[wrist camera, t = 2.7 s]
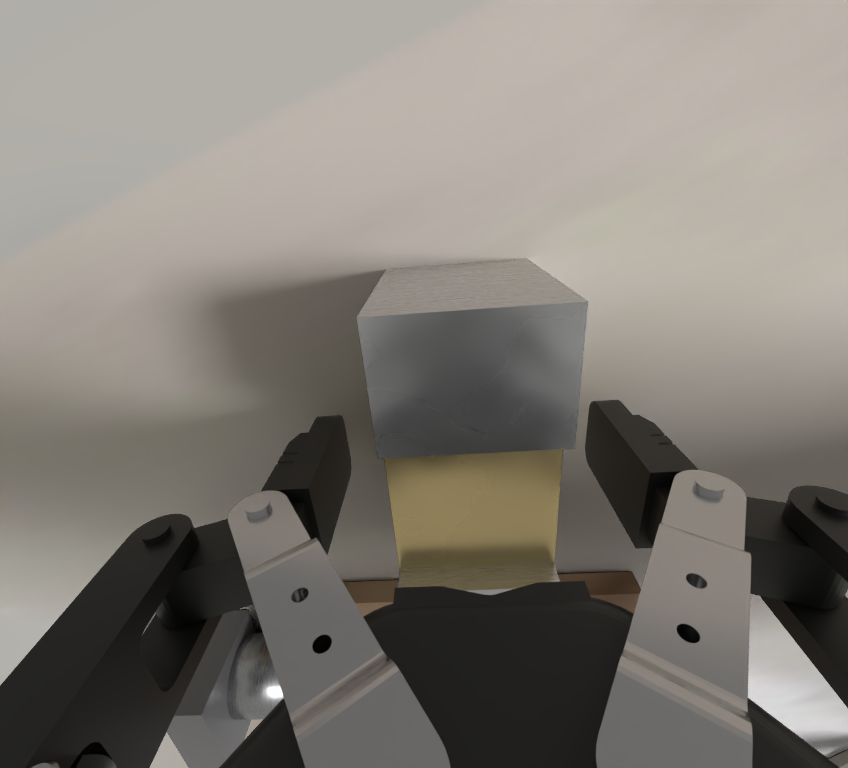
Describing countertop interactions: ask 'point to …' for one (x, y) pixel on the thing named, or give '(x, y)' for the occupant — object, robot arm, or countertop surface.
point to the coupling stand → (257, 681)
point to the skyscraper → (841, 759)
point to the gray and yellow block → (473, 417)
